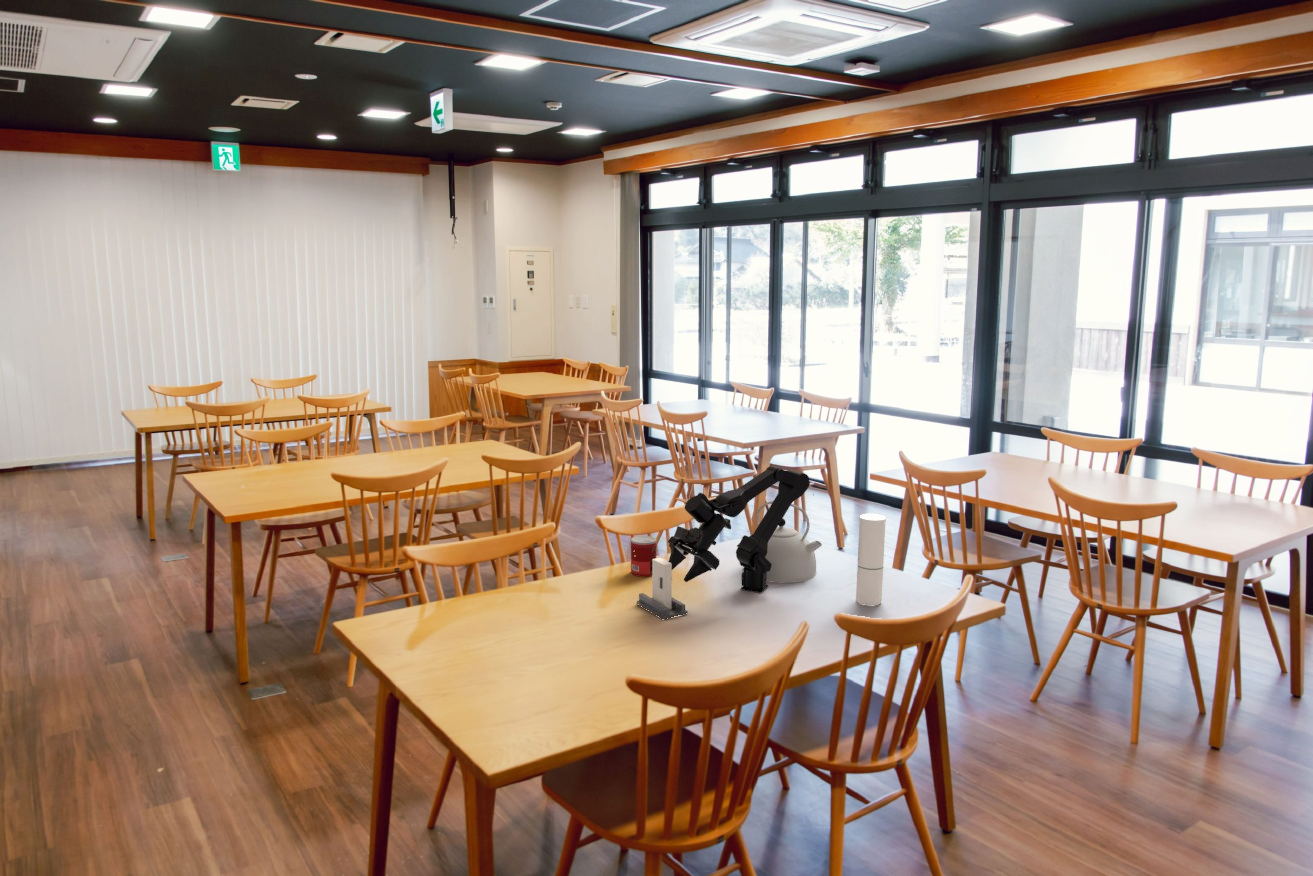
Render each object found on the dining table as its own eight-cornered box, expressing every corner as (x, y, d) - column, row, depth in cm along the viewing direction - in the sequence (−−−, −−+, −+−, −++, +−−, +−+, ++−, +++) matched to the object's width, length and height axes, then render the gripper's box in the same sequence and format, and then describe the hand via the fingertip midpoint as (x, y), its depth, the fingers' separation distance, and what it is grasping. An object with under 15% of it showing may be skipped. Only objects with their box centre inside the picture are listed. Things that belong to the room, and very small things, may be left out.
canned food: (656, 577, 277) (656, 542, 275) (630, 577, 277) (630, 542, 275) (656, 569, 284) (656, 535, 282) (631, 568, 284) (631, 535, 282)
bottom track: (660, 599, 258) (660, 589, 257) (687, 614, 246) (687, 604, 246) (636, 604, 254) (636, 594, 253) (663, 620, 242) (663, 609, 242)
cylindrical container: (879, 597, 259) (883, 514, 255) (883, 606, 252) (887, 520, 248) (854, 596, 260) (858, 513, 256) (857, 605, 253) (861, 520, 249)
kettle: (834, 568, 286) (836, 499, 282) (806, 589, 267) (809, 515, 263) (762, 555, 299) (763, 489, 295) (731, 574, 280) (732, 504, 276)
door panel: (659, 601, 253) (660, 557, 251) (671, 608, 248) (671, 563, 246) (651, 603, 252) (651, 559, 249) (662, 610, 247) (662, 565, 244)
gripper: (673, 508, 258) (640, 551, 255) (710, 523, 243) (676, 569, 239) (695, 530, 264) (664, 573, 260) (733, 546, 248) (701, 592, 245)
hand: (675, 576), depth 251 cm, fingers open, 9 cm apart
